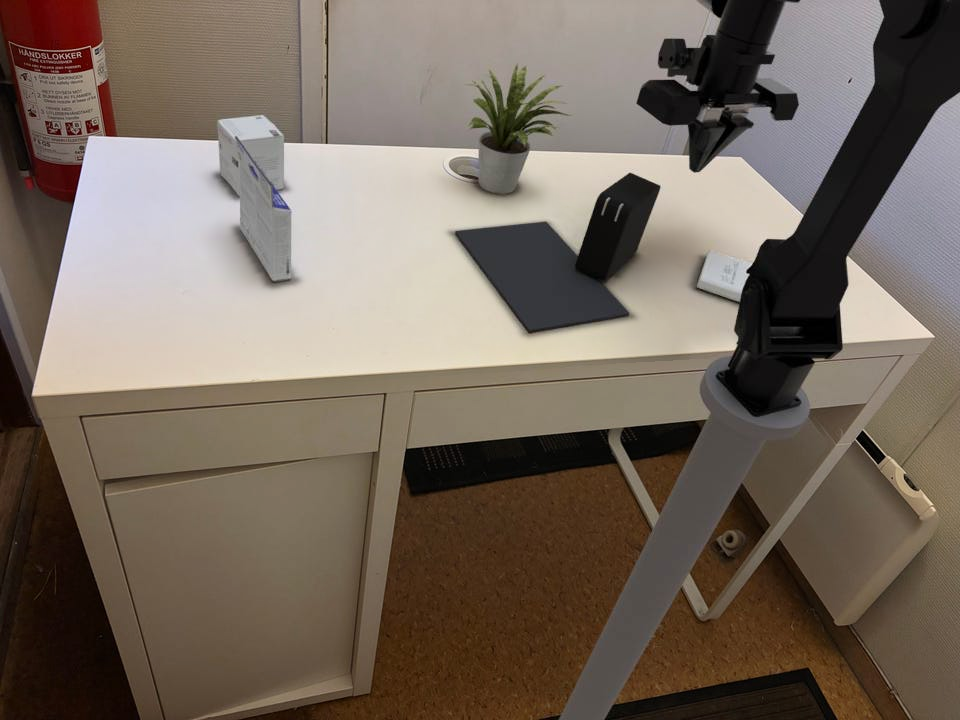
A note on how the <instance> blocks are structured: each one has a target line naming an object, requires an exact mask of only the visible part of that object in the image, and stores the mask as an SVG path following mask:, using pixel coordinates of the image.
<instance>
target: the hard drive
mask: <svg viewBox="0 0 960 720" xmlns="http://www.w3.org/2000/svg"><path fill="white" fill-rule="evenodd" d="M752 264H753V263H750V262H748V261H746V260H745V261H744V260H741V259H738V258H735V257H732V256H729V255H726V254H724V253H723V254H722V253H720V252H718V251H713V250H710V249H708V252H707V254H706V256H705V259H704V262H703V265H702V268H701V270H700V275H699V277H698V281H697V283H696V288H698V289H699V290H700V289H701V290H703V291H706V292H708V293H711V294H715V295H717V296H721V297H724V298H726V299H728V300H731V301H735V302H738V303H740V298H741V293H742V289H743V287H744V284H745V282H746V280H747V278H748V276H749V275H750V274H747V273H746V270H747V269H748V268H749V267H750V266H751V265H752Z"/></svg>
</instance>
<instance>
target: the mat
mask: <svg viewBox="0 0 960 720" xmlns="http://www.w3.org/2000/svg"><path fill="white" fill-rule="evenodd" d="M454 234H455V236H456V237H457V239H458V240H460V242H461V244H462V245H463V247H464V248H465V249H466V250H467V252H468V253H469V254H470V256H471V257H472V258H473V260H474V261H475V263H476V265H478V266H479V267H480V269H481V270H482V272H483V273H484V275H485V276H486V277H487V279H488V280H489V281H490V282H491V284H492V285H493V287H494V288H495V290H496V291H497V292H498V293H499V295H500V296H501V298H502V299H503V300H504V301H505V303H506V304H507V305H508V307H509V308H510V310H511V311H512V312H513V314H514V315H515V316H516V318H517V319H518V321H519V322H520V323H521V324H522V326H523V327H524V328H525V330H526V331H527V333H529V334H531V333H536V332H542V331H543V332H544V331H548V330H549V331H550V330H554V329H559V328H560V329H561V328H566V327H571V326H577V325H578V326H579V325H583V324H588V323H594V322H601V321H606V320H607V321H608V320H613V319H618V318H623V317H629V316H630V314H631V313H630V312H629V310H628V309H627V308H626V307H625V306H624V305H623V304H622V303H621V301H619V300H618V299H617V297H616V296H615V295H614V294H613V293H612V292H611V290H610V289H608V287H607V286H606V285H605V284H604V282H603V281H601V280H599V279H597V278H595V277H593V276H591V275H589V274H587V273H585V272H583V271H581V270H579V269H577V268H575V264H576V261H577V258H578V254H577V253H576V252H575V251H574V250H573V249H572V248H571V247H570V246H569V245H568V244H567V242H565V240H564V239H563V238H562V237H561V236H560V235H559V234H558V233H557V232H556V231H555V229H554V228H553V227H552V226H551V225H550V224H549V223H548V222H547V221H538V222H528V223H520V224H519V223H518V224H508V225H500V226H490V227H479V228H471V229H470V228H469V229H461V230H455V232H454Z"/></svg>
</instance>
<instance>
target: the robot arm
mask: <svg viewBox="0 0 960 720" xmlns="http://www.w3.org/2000/svg"><path fill="white" fill-rule="evenodd" d="M695 1H696V2H697V3H699V4H700V5H701V6H702V7H704V8H705V9H706V10H707V11H709V12H710V13H711V14H713V15H714V16H716V17H717V18H718V19H720V20H719V23H718V25H717V28H716V31H715V34H706V36H705V37H704V38H703V39H702V41H701V45H700V47H687V44H686V39H685V38H675V37H673V38H672V37H671V38H663V40H662V44H661V46H660V49H659V51H658V55H657V65H658V68H659V69H663V70H667V75H666V76H667V77H668V78H673V77H676V76H680V77H681V76H682V77H683V76H684V77H686V78H685V82H687V83H689V85H691V86H696V87H697V89H696V90H690V88H688V87H686V86H684V85H683V84H682V83H680V82H679V81H677V80H676V79H649V80H647V81H645V82H644V83H643V84H642V85H641V87H640V89H639V92H638V96H637V99H636V102H635V104H636V105H637V106H639V107H640V108H641V109H643V110H644V111H646V112H647V113H648V114H649V115H651V116H652V117H653V118H654V119H656V120H657V121H658V122H660V123H661V124H663V125H666V126H669V127H671V126H687V131H688V169H689V171H691V172H692V173H693V174H694V173H701V171H702V170H704V169H705V168H706V167H707V166H708V165H709V164H710V163H711V162H712V161H713V160H714V159H715V158H716V157H717V156H718V155H719V154H720V153H721V152H723V151H724V150H725V149H726V148H727V147H728V146H729V145H730V144H732V143H733V142H734V141H735V140H736V139H737V138H739V137H740V136H741V135H742V134H743V133H745V131H747V130H749V129H753V128H754V126H755V123H754V121H752V120H751V119H749V118H748V116H749V113H750V111H749V109H751V108H770V111H769V113H770V116H771V119H772V120H774V121H775V122H779V121H780V122H781V121H783V122H784V121H793V119H794V117H795V114H796V112H797V110H798V108H799V106H800V104H799V98H798V93H797V92H796V91H794V90H792V89H790V88H788V87H787V86H785V85H783V84H782V83H780V82H778V81H777V80H775V79H773V78H772V77H759V74H760V72H761V69H762V67H763V65H773V62H774V59H775V57H776V54H775V53H774V52H771V51H769V49H770V46H771V44H772V41H773V39H774V36H775V34H776V31H777V29H778V27H779V23H780V21H781V19H782V16H783V13H784V11H785V8H786V6H787V3H793V4H798V3H800V1H801V0H695ZM878 1H879V6H880V8H881V12H882V15H883V18H882V21H881V23H880V25H879V27H878V31H877V33H876V36H875V38H874V41H873V44H872V56H873V57H872V58H873V75H874V77H873V78H874V83H873V86H872V88H871V90H870V92H869V94H868V96H867V97H866V99H865V101H864V104H863V105H862V107H861V109H860V111H859V112H858V114H857V116H856V118H855V120H854V122H853V123H852V126H851V127H850V129H849V131H848V132H847V134H846V136H845V139H844V140H843V142H842V143H841V145H840V148H839V149H838V151H837V153H836V155H835V157H834V159H833V161H832V162H831V164H830V166H829V168H828V169H827V171H826V173H825V175H824V176H823V179H822V181H821V182H820V185H818V188H817V190H816V192H815V194H814V195H813V198H812V199H811V201H810V203H809V205H808V207H807V208H806V211H805V212H804V214H803V216H802V217H801V219H800V221H799V223H798V225H797V227H796V228H795V230H794V232H793V233H792V234H791V235H790V236H789V237H786V238H785V239H784V238H766V239H765V240H764V241H763V242H762V244H761V245H759V248H758V251H757V253H756V256H755V258H754V261H753V262H752V263H751V264H752V265H751V266H750V267H749V268H748V269H747V270H746V273H747V274H750V275H749V276H748V278H747V280H746V282H745V284H744V287H743V289H742V293H741V298H740V302H738V303H739V304H738V308H737V313H736V319H735V323H734V329H733V331H734V333H735V335H736V336H737V341H736V347H735V349H734V351H733V353H732V355H731V356H732V357H731V359H730V361H729V363H728V367H729V369H727V370H722V371H718V372H717V374H716V378H717V379H718V380H719V381H720V382H721V383H722V384H723V385H724V387H725V388H726V389H727V390H728V391H729V392H730V393H731V394H732V395H733V396H734V397H735V398H736V399H737V400H738V401H739V402H740V403H741V404H742V406H743V407H744V408H745V409H746V410H747V411H748V412H749V413H750V414H751V415H752V416H754V417H760V416H764V415H768V414H771V413H775V412H779V411H783V410H787V409H790V408H794V407H798V406H800V404H801V402H802V401H801V400H800V399H799V398H798V397H797V396H796V394H797V393H798V391H799V389H800V387H801V388H802V385H803V384H804V382H805V381H806V379H807V377H808V376H809V373H810V372H811V370H812V369H813V367H814V365H815V364H816V361H815V360H814V359H820V360H821V359H823V360H832V359H833V358H834V357H836V356H837V355H838V354H840V353H841V352H842V351H843V349H844V346H843V345H844V343H843V330H842V329H843V328H842V316H841V303H842V301H843V299H844V296H845V294H846V292H847V289H848V287H849V283H850V281H849V274H848V273H849V271H848V262H847V261H848V260H847V259H848V257H849V255H850V252H851V251H852V248H853V247H854V245H855V244H856V242H857V240H858V239H859V237H860V236H861V234H862V232H863V230H864V229H865V228H866V226H867V225H868V223H869V221H870V220H871V218H872V216H873V214H874V213H875V211H876V209H878V207H879V205H880V203H881V201H882V199H884V197H885V195H886V194H887V192H888V190H889V189H890V187H891V185H892V184H893V182H894V180H895V179H896V177H897V175H898V174H899V172H900V171H901V169H902V167H903V166H904V164H905V162H906V161H907V160H908V157H909V156H910V155H911V153H912V151H913V149H914V148H915V146H916V144H917V143H918V142H919V140H920V138H921V136H922V135H923V133H924V132H925V130H926V129H927V127H928V125H929V123H930V122H931V121H932V118H933V117H934V115H935V114H936V112H937V111H938V110H939V108H940V107H942V106H943V105H944V104H946V103H947V102H949V101H950V100H952V98H954V97H956V96H957V95H958V94H960V0H878ZM758 77H759V78H758Z"/></svg>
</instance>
